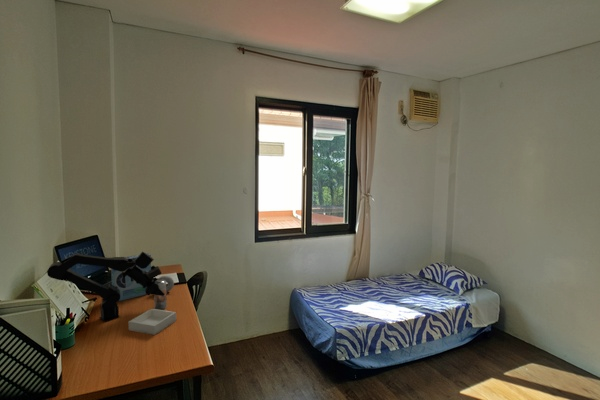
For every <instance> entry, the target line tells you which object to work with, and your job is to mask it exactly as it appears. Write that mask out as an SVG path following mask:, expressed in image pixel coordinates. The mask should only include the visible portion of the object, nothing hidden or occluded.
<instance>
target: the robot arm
mask: <svg viewBox="0 0 600 400" xmlns="http://www.w3.org/2000/svg"><path fill="white" fill-rule="evenodd" d="M148 254H149V253H148ZM148 254H147V253H146V252H145V251H141V252H140V254H138V255H139V256H138V257H137V258H136V259H127V258H126V257H127V256H114V257H105V256H97V255H90V254H81V253H80V252H79V253H74V254H72V255H70V256H68V257H66V258H65V259H62V260H61V261H56V262H54V263H52V264H50V266H49V267H48V269H47V271H46V274H47V277H49V278H50V279H54V280H56V281H57V280H58V281H65V282H69V283H71V284H74V285H76V286H78V287H80V288H83V289H85V290H88V291H89V292H92V293H94V294H97V295H98V296H100V298H101V306H100V316H99V319H100V320H101V321H103V322H109V321H112V320H115V319H116V318H117V319H118V318H119V317H121V316H120V315H119V305H118V302H120V301H119V300H120V290H119V289H118V287H115V286H113V285H112V283H109V284H108V285H103V284H101V283H99V282H97V281H95V280H92V279H90V278H88V277H85V275H82V274H79V273H78V272H75V271H74V270H72V267H74V266H75V265H78V264H79V265H87V266H97V267H105V268H109V269H113V270H117V271H124V272H122V278H125V277H126V276H128V277H130V278H131V279H133V280H134V281H136V283H137V284H138V283H139V284H140V285H141V286H143V288H144V289H145V288H146V289H145V293H146V295H147V296H148V297H149V296H151V295H153V296H154V295H160V296H164V295H165V294H164V293H163V292H162V291H161V290H160V289H159V287H158V286H159V285H158V283H156V282H155V281H157V278H156V277H157V276H160V275H162V271H161V269H160V267H159V266H158V265H157V266H156V265H151V270H149V272H146V271H142V270H141V269H144V268H146V267H147V266H148V265H149V264H150V263H151V264H152V262H154V260H155V259H154V258H153V257H152V255H151V254H150V255H151V256H150V255H148ZM136 265H137V266H138V267H140V268H141V269H140V268H138V267H137V266H136ZM125 270H126V271H125Z"/></svg>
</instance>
